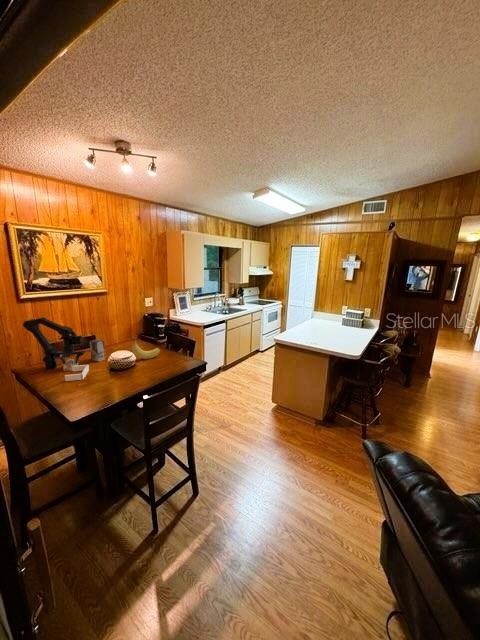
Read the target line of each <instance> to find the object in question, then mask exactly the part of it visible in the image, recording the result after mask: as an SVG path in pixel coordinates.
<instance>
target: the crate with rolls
mask: <svg viewBox="0 0 480 640" xmlns="http://www.w3.org/2000/svg"><path fill="white" fill-rule="evenodd" d="M78 365H79V362H78V363H77V364H76V358H69V359H66V360H65V364H64V363H63V365H62V367H63V371H64V372H68V371H73V370H72V366H78Z"/></svg>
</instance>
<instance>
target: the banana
mask: <svg viewBox="0 0 480 640" xmlns="http://www.w3.org/2000/svg"><path fill="white" fill-rule="evenodd" d="M132 341H133V345H132V347H131V351H132V353H133V354H134V355H135V356H137V357H138V358H140V359H143V360H146V359H147V360H148V359H149V360H150V359H152V358H155V357H156V356H158V355H159V354H160V351H161V348H159V347H157V348H154V349H151V350H143V349H141V348H140V346H139V344H138V343H137V339H136V337H132Z"/></svg>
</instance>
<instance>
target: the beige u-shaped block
mask: <svg viewBox="0 0 480 640" xmlns="http://www.w3.org/2000/svg"><path fill="white" fill-rule="evenodd" d="M71 371H72V372H81V373H74V374H64V379H65V380H64V381H65V382H71V381H72V382H73V381H81V380H85V378H86V376H87V374H88V372H89V371H90V364H82V365H81V364H80V365H79V364H78V365H77V366H72V370H71Z"/></svg>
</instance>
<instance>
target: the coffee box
mask: <svg viewBox="0 0 480 640" xmlns="http://www.w3.org/2000/svg"><path fill="white" fill-rule="evenodd" d="M89 347H90V348H89V349H90V350H89V351H90V357H91V361H96V362H101V361H104V360H106V354H105V353H106V352H105V343H104V339H103V340H102V339H97V338H95V339H93V340H89Z"/></svg>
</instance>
